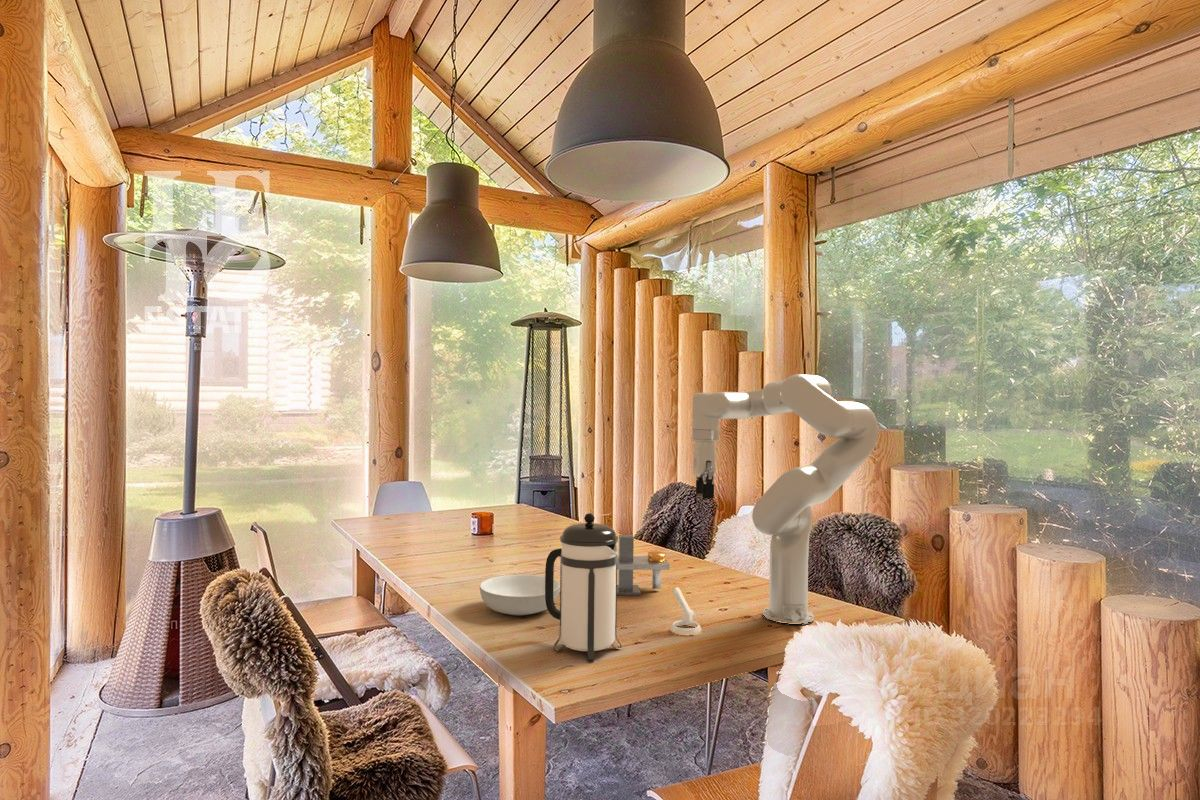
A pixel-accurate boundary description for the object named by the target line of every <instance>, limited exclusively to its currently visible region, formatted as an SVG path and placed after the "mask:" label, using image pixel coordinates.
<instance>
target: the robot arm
mask: <svg viewBox="0 0 1200 800" xmlns="http://www.w3.org/2000/svg"><path fill="white" fill-rule="evenodd" d="M832 395H833V392H832V387H831V384H830V382H829V381H828V380H827V379H826V378H824V377H822V376H820V375H816V374H804V373H798V374H797V373H796V374H792V375H790V376H788V377H787V378H786V379H783V380H777V381H771V382H768V383H766V384H765V385H764V387H763V388H761V389H756V390H750V391H741V392H740V391H717V392H696V393H694V395H693V396H692V421H691V422H692V423H691V424H692V426H691V427H692V429H691V430H692V431H691V432H692V433H691V437H692V439H691V441H693V442H694V446H693V461H692V463H693V465H692V472H693V474H694V475H695V476H696V480H695V493H696V494H697V495H702V496H701V497H702V499H704V500H705V499H711V500H712V499H715V479H714V478H715V475H716V466H717V465H716V463H717V460H716V459H717V458H716V457H717V454H716V451H717V450H716V449H717V448H716V443H717V442H720V420H732V419H733V420H734V419H735V420H740V419H741V420H743V419H744V420H745V419H751V418H758V417H765V416H770V415H771V416H776V415H781V414H786V413H787V414H788V413H794V414H795V415H797V416H798V417H799V418H801V419H802V420H803V421H804V422H805V423H807V424H808V425H810V426H811V427H812V428H813V429H814V430H816V431H817V432H818V433H820V434H821V435H823V436H826V437H829V438H834V439H835V438H837V439H836V440H834V441H833V442H832V443H831V444H829V445H828V446H827V447H826V448H824V450H823V451H822V452H821V454H820V455H819V456H818V457H817V458H816V459H814V461H812V462H811V463H810V464H808V465H805V466H798V467H793V468H790V469H788V470H787V471H785V472H783V473H782V474H781V475H780V476H779V477H778V478H777V479H776V480H775V481H774V483H773V484H771V486H770V487H769V488H768V489H767V490H766V491H765V492H764V493H763V494H762V496H760V498H759V499H758V500H757V501H756V503H755V505H754V506H753V509H752V512H751V513H752V514H751V515H752V516H751V517H752V523H753V525H754V527H755V528H756V530H757V531H758V532H760V533H761V534H763V535H766V536H771V538H770V546H769V585H768V586H769V588H768V590H769V592H768V595H769V597H768V605H769V606H767V607H766V608H764V609H763V610H762V616H763V615H764V616H765V617H767V618H769V619H772V620H775V621H781V622H787V623H800V624H801V623H804V624H803V625H808V624H809V623H808V622H811V623H813V622H812V621H814V620H815V615H814V614H813V612H812V611H809V610H808V608H809V607H808V601H809V597H808V593H809V591H808V590H809V589H808V588H809V550H810V549H809V545H810V543H809V542H810V535H811V534H810V533H811V530H812V529H811V528H812V523H813V510H812V507H811V506H816V505H819V504H822V503H825V502H827V501H828V500H829V499H831V497H832V496H833V495H834V493H835V492H837V490H839V488H840V487H842V485H843V484H845V483H846V481H847V480H849V478H850V477H851V476H852V475H853V474H854V473H855V472H856V471H857V470H858V468H859V467H860V466H862V465H863V464H864V463H865V461H866V460H868V458H870V457H869V456H870V455H871V454H872V452H873V451H874V450H875V448H876V446H877V445H876V444H877V443H878V440H879V439H878V438H879V423H878V420H877V417H876V415H875V414H874V411H872V409H871V408H870V407H869V406H867V405H865V404H864V403H860V402H857V401H839V400H838V401H837V400H836V399H834V398H833V397H832ZM764 616H763V617H764ZM765 617H764V618H765Z"/></svg>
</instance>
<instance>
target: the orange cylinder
mask: <svg viewBox="0 0 1200 800" xmlns="http://www.w3.org/2000/svg"><path fill="white" fill-rule="evenodd" d="M647 556H648V561H651V562H665V561H666V559H667V553H666V552H664V551H657V550H655V551H653V550H652V551H649V552H648V553H647ZM651 571H652V573H651V574H652V575H651V588H652V589H654V590H660V589H662V570H651Z"/></svg>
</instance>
